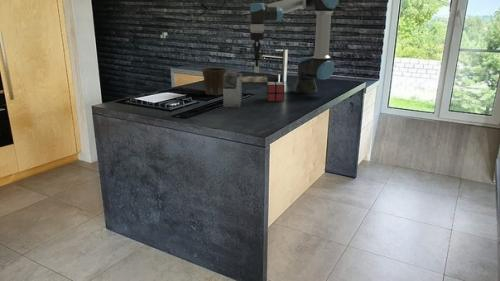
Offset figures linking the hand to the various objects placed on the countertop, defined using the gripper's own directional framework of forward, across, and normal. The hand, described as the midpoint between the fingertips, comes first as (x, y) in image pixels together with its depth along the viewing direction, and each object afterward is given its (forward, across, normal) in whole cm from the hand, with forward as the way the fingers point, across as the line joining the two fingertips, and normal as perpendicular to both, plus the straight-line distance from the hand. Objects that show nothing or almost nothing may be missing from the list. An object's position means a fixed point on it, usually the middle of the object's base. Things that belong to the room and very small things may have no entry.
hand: (256, 70), depth 224 cm
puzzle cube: (+19, -11, +11) cm, 25 cm away
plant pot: (+19, -28, -27) cm, 43 cm away
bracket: (+19, 0, -14) cm, 23 cm away
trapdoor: (+8, 0, -6) cm, 10 cm away
